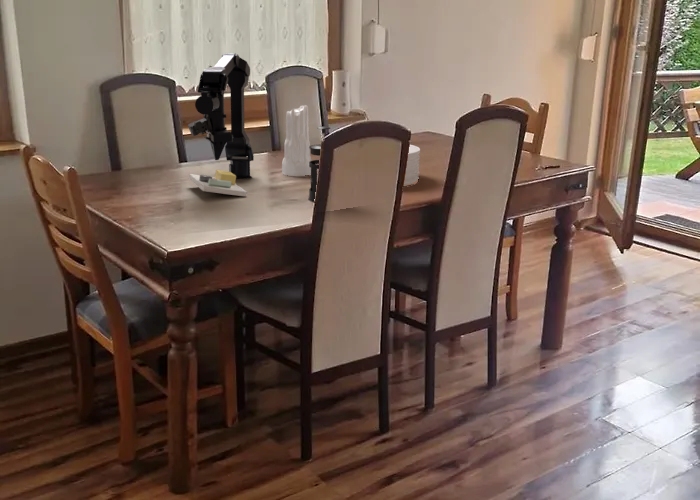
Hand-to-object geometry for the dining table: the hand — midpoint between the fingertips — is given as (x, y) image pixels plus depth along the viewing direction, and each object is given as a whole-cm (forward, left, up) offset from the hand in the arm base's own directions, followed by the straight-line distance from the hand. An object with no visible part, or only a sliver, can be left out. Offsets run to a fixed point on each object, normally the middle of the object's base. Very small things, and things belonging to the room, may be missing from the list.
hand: (216, 159), depth 249 cm
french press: (-29, +20, -11) cm, 37 cm away
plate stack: (-59, -2, -11) cm, 60 cm away
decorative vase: (-35, -21, -11) cm, 42 cm away
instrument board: (0, -2, -9) cm, 10 cm away
